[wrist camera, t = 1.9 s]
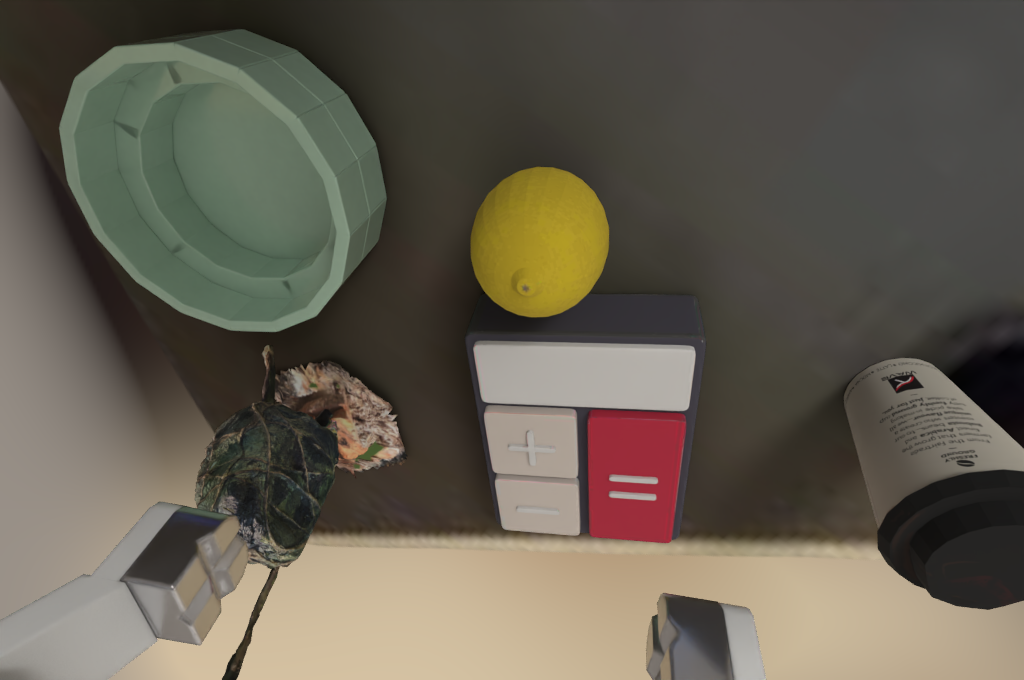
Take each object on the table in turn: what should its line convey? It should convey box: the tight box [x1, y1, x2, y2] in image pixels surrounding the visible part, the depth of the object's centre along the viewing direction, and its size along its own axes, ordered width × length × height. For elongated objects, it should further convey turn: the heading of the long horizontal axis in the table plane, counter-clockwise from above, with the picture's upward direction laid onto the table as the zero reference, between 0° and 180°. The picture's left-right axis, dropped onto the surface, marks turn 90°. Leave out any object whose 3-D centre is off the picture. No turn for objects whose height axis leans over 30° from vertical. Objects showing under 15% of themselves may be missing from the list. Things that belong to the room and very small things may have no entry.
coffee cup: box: [844, 358, 1024, 610], centre depth 25 cm, size 7×7×10 cm
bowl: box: [59, 29, 387, 332], centre depth 26 cm, size 12×12×5 cm
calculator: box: [465, 294, 706, 543], centre depth 31 cm, size 11×4×15 cm
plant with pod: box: [195, 345, 407, 680], centre depth 27 cm, size 8×11×20 cm
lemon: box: [471, 167, 609, 317], centre depth 23 cm, size 6×6×8 cm
